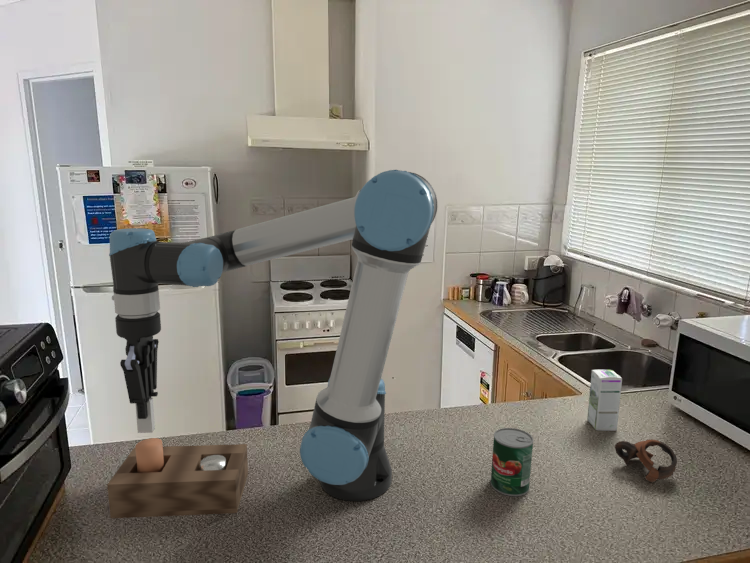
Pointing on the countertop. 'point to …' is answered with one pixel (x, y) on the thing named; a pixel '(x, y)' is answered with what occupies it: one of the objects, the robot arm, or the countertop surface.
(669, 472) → the brown double ring
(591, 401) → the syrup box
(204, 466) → the grey rounded piece
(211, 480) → the brown wooden block
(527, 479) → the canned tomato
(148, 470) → the tan rounded piece
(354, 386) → the robot arm
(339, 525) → the countertop surface
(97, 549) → the countertop surface
